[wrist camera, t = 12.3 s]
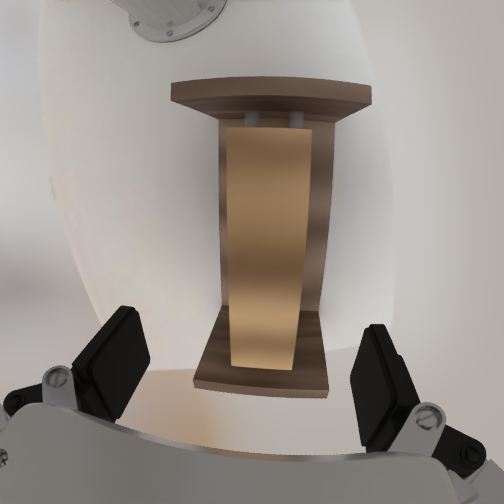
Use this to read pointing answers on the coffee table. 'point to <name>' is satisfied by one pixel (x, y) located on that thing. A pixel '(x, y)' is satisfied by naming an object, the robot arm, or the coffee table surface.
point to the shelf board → (266, 241)
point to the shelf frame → (321, 173)
